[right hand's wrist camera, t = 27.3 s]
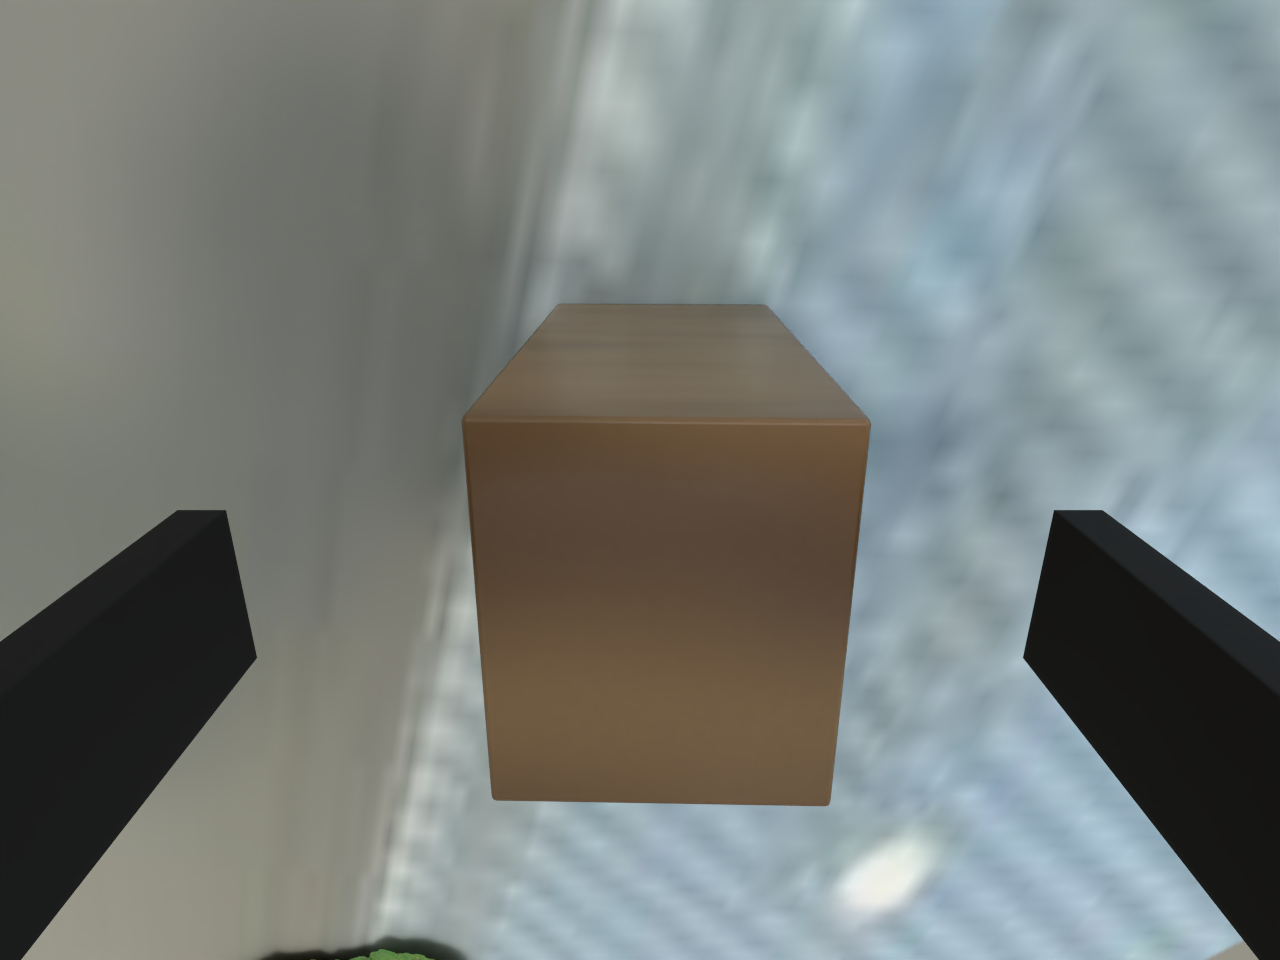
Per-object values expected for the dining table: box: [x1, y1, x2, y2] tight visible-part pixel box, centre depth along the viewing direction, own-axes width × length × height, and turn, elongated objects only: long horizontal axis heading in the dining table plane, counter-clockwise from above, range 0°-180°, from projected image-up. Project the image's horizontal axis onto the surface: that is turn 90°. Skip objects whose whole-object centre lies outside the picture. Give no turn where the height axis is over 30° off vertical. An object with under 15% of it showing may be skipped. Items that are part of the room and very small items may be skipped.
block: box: [462, 304, 871, 806], centre depth 18 cm, size 7×6×11 cm
